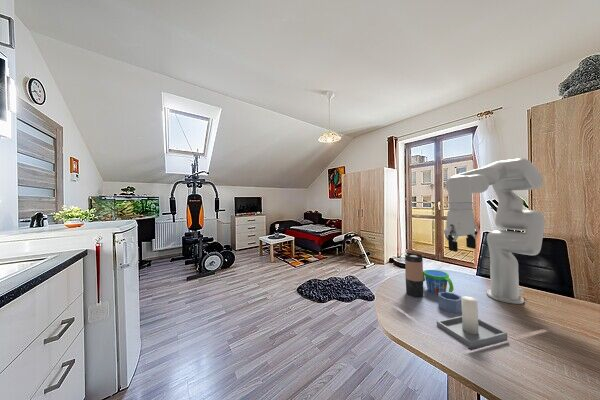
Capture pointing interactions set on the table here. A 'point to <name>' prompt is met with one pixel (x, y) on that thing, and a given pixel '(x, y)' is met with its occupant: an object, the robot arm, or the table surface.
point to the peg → (470, 315)
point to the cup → (450, 302)
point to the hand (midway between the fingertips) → (462, 249)
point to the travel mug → (414, 275)
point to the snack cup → (437, 281)
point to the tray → (483, 339)
